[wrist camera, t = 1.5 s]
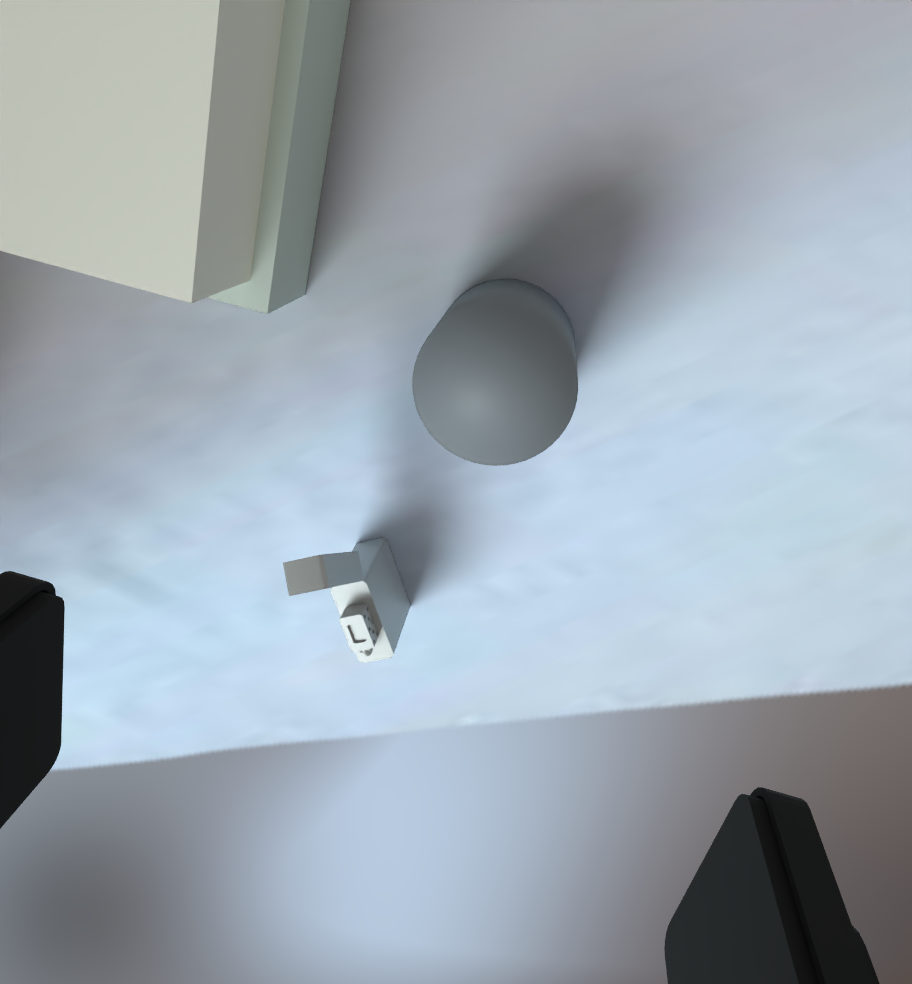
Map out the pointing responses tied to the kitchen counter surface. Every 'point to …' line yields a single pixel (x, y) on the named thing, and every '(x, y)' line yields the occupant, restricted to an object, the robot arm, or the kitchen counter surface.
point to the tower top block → (137, 137)
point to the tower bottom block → (295, 153)
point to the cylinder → (498, 374)
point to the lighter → (358, 594)
